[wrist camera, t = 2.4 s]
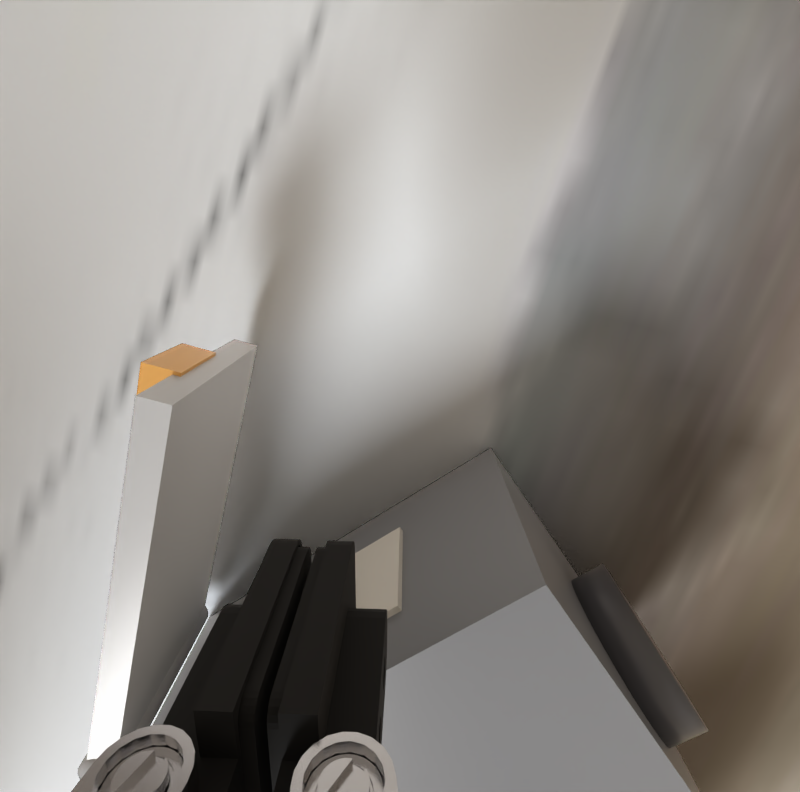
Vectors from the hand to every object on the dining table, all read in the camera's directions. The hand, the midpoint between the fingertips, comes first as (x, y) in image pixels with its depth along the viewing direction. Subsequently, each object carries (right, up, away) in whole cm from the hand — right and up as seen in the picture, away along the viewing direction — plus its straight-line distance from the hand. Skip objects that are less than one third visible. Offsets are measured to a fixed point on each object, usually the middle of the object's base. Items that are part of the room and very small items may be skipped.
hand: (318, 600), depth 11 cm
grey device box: (+2, -5, +11) cm, 12 cm away
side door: (-5, +1, +8) cm, 10 cm away
